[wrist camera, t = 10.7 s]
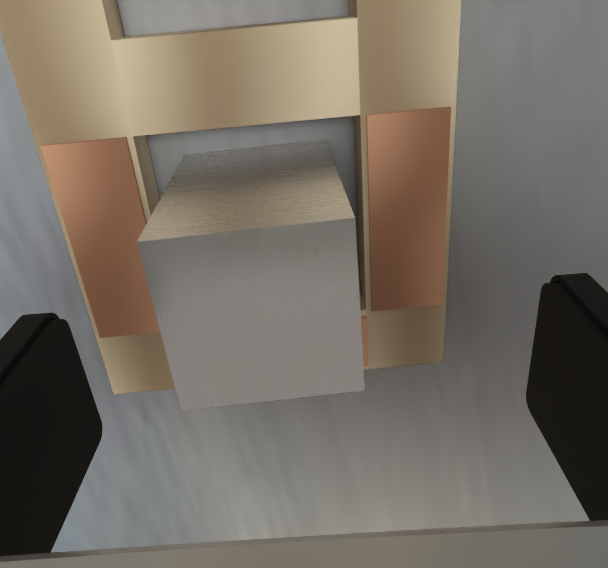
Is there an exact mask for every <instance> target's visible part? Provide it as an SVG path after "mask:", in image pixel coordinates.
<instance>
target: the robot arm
mask: <svg viewBox="0 0 608 568" xmlns="http://www.w3.org/2000/svg"><path fill="white" fill-rule="evenodd" d="M526 399H527V405H528V408H529V411H530V413H531V415H532V416H533V418H534V420H535V422H536V424H537V426H538V427H539V429H540V431H541V433H542V435H543V436H544V438H545V440H546V442H547V444H548V445H549V447H550V449H551V451H552V453H553V454H554V456H555V458H556V460H557V462H558V463H559V465H560V467H561V469H562V471H563V473H564V474H565V476H566V478H567V480H568V482H569V483H570V485H571V487H572V489H573V491H574V492H575V494H576V496H577V498H578V500H579V501H580V503H581V505H582V507H583V509H584V510H585V512H586V514H587V516H588V518H589V519H590V521H579V522H553V523H533V524H515V525H497V526H479V527H460V528H442V529H424V530H405V531H387V532H371V533H354V534H337V535H320V536H303V537H287V538H270V539H254V540H238V541H222V542H205V543H190V544H175V545H159V546H144V547H129V548H114V549H99V550H84V551H69V552H54V553H50V552H51V550H52V548H53V546H54V543H55V541H56V539H57V537H58V535H59V532H60V530H61V528H62V526H63V523H64V521H65V519H66V517H67V514H68V512H69V510H70V508H71V505H72V503H73V501H74V499H75V496H76V494H77V492H78V490H79V487H80V485H81V483H82V481H83V478H84V476H85V474H86V472H87V469H88V467H89V465H90V463H91V461H92V458H93V456H94V454H95V452H96V449H97V447H98V445H99V443H100V440H101V437H102V422H101V419H100V416H99V413H98V410H97V407H96V404H95V401H94V398H93V395H92V392H91V389H90V386H89V383H88V380H87V377H86V374H85V371H84V368H83V365H82V362H81V359H80V356H79V353H78V350H77V347H76V344H75V342H74V339H73V336H72V333H71V330H70V327H69V324H68V322H67V321H66V320H64V319H59V317H58V316H57V315H56V314H54V313H42V314H29V315H23V316H21V317H20V318H19V319H18V320H17V321H16V322H15V324H14V325H13V326H12V327H11V328H10V329H9V331H8V332H7V333H6V334H5V335H4V336H3V338H2V339H1V340H0V568H608V293H607V292H606V291H605V290H604V289H603V288H602V287H601V286H600V285H599V284H598V283H597V282H596V281H595V280H594V279H593V278H592V277H591V276H590V275H588V274H587V273H580V274H567V275H555V276H554V277H552V279H551V281H550V283H545V284H544V285H543V286H542V289H541V294H540V301H539V308H538V315H537V322H536V329H535V336H534V342H533V349H532V356H531V363H530V370H529V377H528V384H527V391H526Z"/></svg>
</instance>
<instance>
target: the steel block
mask: <svg viewBox="0 0 608 568" xmlns="http://www.w3.org/2000/svg"><path fill="white" fill-rule="evenodd" d="M137 245H138V249H139V253H140V257H141V260H142V264H143V268H144V272H145V276H146V279H147V283H148V287H149V291H150V295H151V298H152V302H153V306H154V310H155V314H156V317H157V321H158V325H159V329H160V333H161V336H162V340H163V344H164V348H165V352H166V355H167V359H168V363H169V367H170V371H171V374H172V378H173V382H174V386H175V390H176V393H177V397H178V401H179V405H180V409H181V411H186V410H195V409H204V408H213V407H222V406H231V405H240V404H249V403H258V402H267V401H276V400H285V399H294V398H303V397H312V396H320V395H329V394H338V393H347V392H356V391H365V385H364V367H363V349H362V330H361V312H360V294H359V276H358V258H357V240H356V222H355V216H354V213H353V211H352V208H351V205H350V203H349V200H348V198H347V195H346V192H345V190H344V187H343V185H342V182H341V179H340V177H339V174H338V172H337V169H336V167H335V164H334V161H333V159H332V156H331V154H330V151H329V148H328V146H327V143H326V141H325V140H316V141H307V142H298V143H289V144H280V145H271V146H262V147H253V148H244V149H234V150H225V151H216V152H207V153H198V154H189V155H184V157H183V159H182V161H181V162H180V164H179V166H178V168H177V170H176V172H175V173H174V175H173V177H172V179H171V181H170V182H169V184H168V186H167V188H166V190H165V191H164V193H163V195H162V197H161V199H160V201H159V202H158V204H157V206H156V208H155V210H154V211H153V213H152V215H151V217H150V219H149V220H148V222H147V224H146V226H145V228H144V230H143V231H142V233H141V235H140V237H139V239H138V240H137Z"/></svg>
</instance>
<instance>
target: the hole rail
mask: <svg viewBox="0 0 608 568" xmlns="http://www.w3.org/2000/svg"><path fill="white" fill-rule="evenodd" d="M349 3H350V16H346V17H335V18H324V19H313V20H302V21H291V22H281V23H270V24H259V25H248V26H237V27H226V28H215V29H205V30H194V31H183V32H172V33H161V34H150V35H139V36H128V37H125V36H124V32H123V27H122V22H121V18H120V13H119V8H118V4H117V0H0V32H1V35H2V39H3V42H4V45H5V48H6V51H7V55H8V58H9V61H10V64H11V67H12V70H13V74H14V77H15V80H16V83H17V86H18V90H19V93H20V96H21V99H22V102H23V106H24V109H25V112H26V115H27V118H28V122H29V125H30V128H31V131H32V134H33V138H34V141H35V144H36V147H37V150H38V154H39V157H40V160H41V163H42V166H43V170H44V173H45V176H46V179H47V182H48V186H49V189H50V192H51V195H52V198H53V202H54V205H55V208H56V211H57V214H58V218H59V221H60V224H61V227H62V230H63V234H64V237H65V240H66V243H67V246H68V249H69V253H70V256H71V259H72V262H73V265H74V269H75V272H76V275H77V278H78V281H79V285H80V288H81V291H82V294H83V297H84V301H85V304H86V307H87V310H88V313H89V317H90V320H91V323H92V326H93V329H94V333H95V336H96V339H97V342H98V345H99V349H100V352H101V355H102V358H103V361H104V365H105V368H106V371H107V374H108V377H109V381H110V384H111V387H112V390H113V393H114V394H122V393H132V392H142V391H153V390H163V389H173V388H175V386H174V382H173V378H172V374H171V371H170V367H169V363H168V359H167V355H166V352H165V348H164V344H163V340H162V336H161V333H160V329H159V325H158V321H157V317H156V314H155V310H154V306H153V302H152V298H151V295H150V291H149V287H148V283H147V279H146V276H145V272H144V268H143V264H142V260H141V257H140V253H139V249H138V245H137V240H138V239H139V237H140V235H141V233H142V231H143V230H144V228H145V226H146V224H147V222H148V220H149V219H150V217H151V215H152V213H153V211H154V210H155V208H156V206H157V204H158V202H159V201H160V198H159V194H158V189H157V185H156V180H155V175H154V171H153V166H152V161H151V157H150V152H149V147H148V143H147V138H146V135H153V134H164V133H175V132H185V131H196V130H207V129H217V128H228V127H239V126H249V125H260V124H271V123H281V122H292V121H303V120H313V119H324V118H335V117H345V116H354V139H355V167H356V194H357V221H358V249H359V276H360V289H359V294H360V312H361V330H362V349H363V367H364V370H366V369H376V368H386V367H396V366H407V365H417V364H427V363H437V362H443V359H444V339H445V319H446V298H447V278H448V258H449V238H450V218H451V197H452V177H453V157H454V137H455V117H456V97H457V76H458V56H459V36H460V16H461V0H349Z"/></svg>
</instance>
